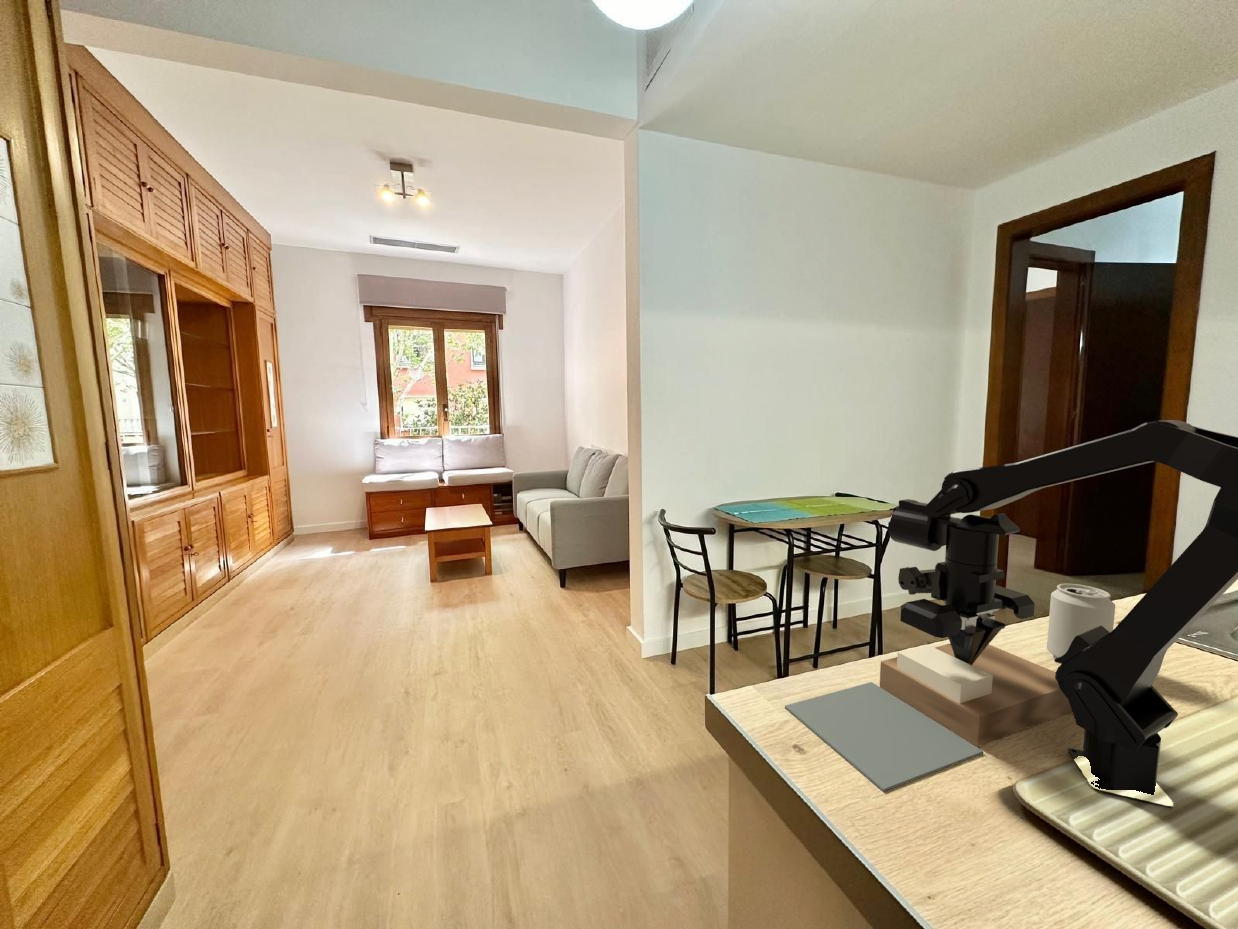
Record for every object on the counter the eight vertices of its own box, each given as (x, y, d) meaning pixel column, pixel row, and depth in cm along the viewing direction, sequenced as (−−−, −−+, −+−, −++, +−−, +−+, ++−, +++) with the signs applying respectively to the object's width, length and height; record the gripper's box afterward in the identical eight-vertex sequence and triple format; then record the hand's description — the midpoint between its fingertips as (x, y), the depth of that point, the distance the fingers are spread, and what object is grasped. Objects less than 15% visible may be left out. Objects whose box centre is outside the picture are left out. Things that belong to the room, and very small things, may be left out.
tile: (926, 660, 71) (927, 644, 71) (991, 693, 63) (992, 675, 63) (896, 668, 69) (897, 652, 69) (959, 703, 61) (960, 685, 60)
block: (971, 660, 78) (972, 637, 78) (1077, 710, 65) (1079, 682, 65) (879, 686, 72) (880, 661, 71) (977, 747, 59) (979, 716, 58)
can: (1045, 644, 84) (1050, 577, 82) (1105, 657, 79) (1112, 587, 77) (1047, 662, 78) (1053, 590, 76) (1113, 677, 73) (1120, 601, 72)
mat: (871, 683, 72) (871, 682, 72) (982, 753, 57) (983, 751, 57) (784, 707, 67) (784, 705, 67) (883, 791, 52) (883, 789, 52)
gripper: (959, 538, 76) (953, 632, 78) (869, 551, 70) (865, 653, 72) (1040, 557, 66) (1032, 665, 67) (943, 575, 60) (936, 693, 61)
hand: (963, 667), depth 67 cm, fingers closed
